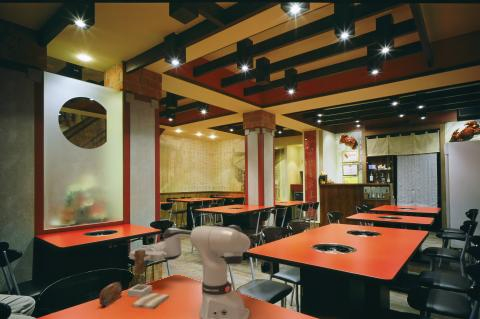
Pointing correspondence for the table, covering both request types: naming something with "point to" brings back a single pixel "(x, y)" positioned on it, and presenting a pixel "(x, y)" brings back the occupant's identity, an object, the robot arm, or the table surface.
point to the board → (150, 300)
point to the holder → (139, 290)
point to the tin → (110, 294)
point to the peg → (139, 261)
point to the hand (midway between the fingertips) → (139, 259)
